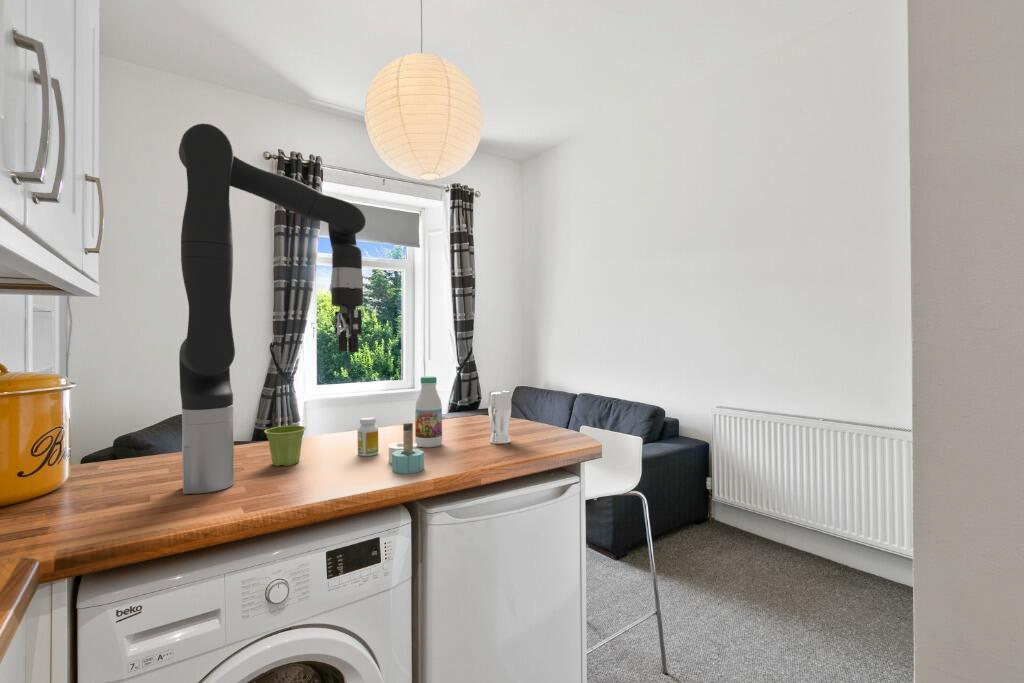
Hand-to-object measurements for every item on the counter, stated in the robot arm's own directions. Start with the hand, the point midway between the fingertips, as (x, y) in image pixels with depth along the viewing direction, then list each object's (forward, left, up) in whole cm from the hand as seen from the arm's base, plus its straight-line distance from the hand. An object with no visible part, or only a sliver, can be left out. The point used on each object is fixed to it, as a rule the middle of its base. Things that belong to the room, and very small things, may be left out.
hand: (347, 351), depth 121 cm
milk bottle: (+25, +6, -28) cm, 38 cm away
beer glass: (+44, -3, -28) cm, 52 cm away
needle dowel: (+10, -14, -28) cm, 33 cm away
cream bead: (+12, -6, -28) cm, 31 cm away
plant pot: (-13, +9, -28) cm, 32 cm away
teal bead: (+10, -14, -28) cm, 33 cm away
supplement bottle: (+7, +6, -28) cm, 30 cm away
